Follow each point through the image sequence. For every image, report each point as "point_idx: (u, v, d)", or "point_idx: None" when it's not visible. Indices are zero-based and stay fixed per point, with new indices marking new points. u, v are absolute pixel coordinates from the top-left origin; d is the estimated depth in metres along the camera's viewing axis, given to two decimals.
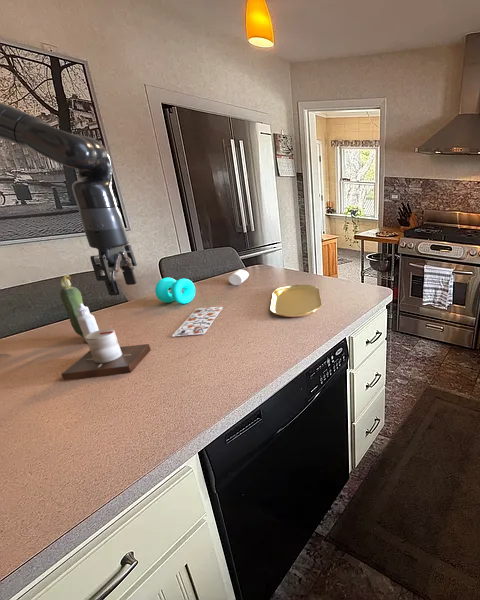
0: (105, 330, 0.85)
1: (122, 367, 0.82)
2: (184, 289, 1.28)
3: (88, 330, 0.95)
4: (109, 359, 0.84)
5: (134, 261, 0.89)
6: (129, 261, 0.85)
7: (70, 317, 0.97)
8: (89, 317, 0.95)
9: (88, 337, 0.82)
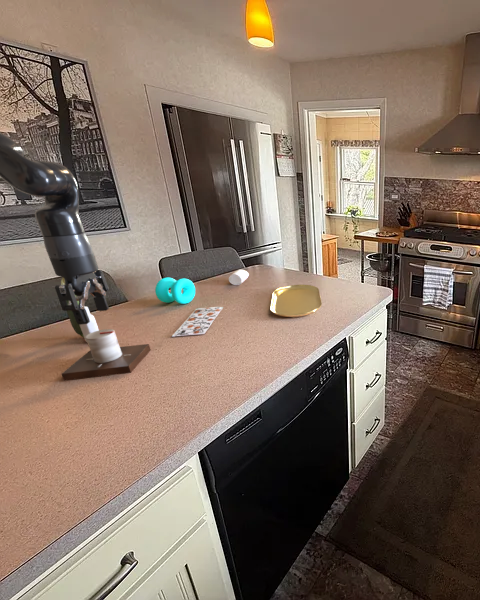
0: (105, 330, 0.85)
1: (122, 367, 0.82)
2: (184, 289, 1.28)
3: (88, 330, 0.95)
4: (109, 359, 0.84)
5: (106, 286, 0.86)
6: (100, 287, 0.82)
7: (70, 317, 0.97)
8: (89, 317, 0.95)
9: (88, 337, 0.82)
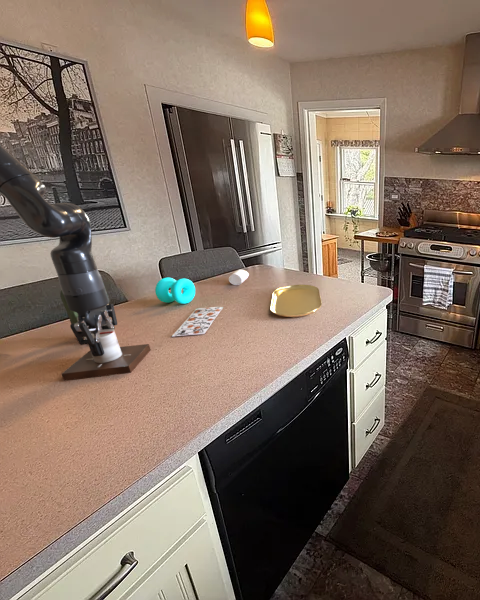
0: (105, 330, 0.85)
1: (122, 367, 0.82)
2: (184, 289, 1.28)
3: None
4: (109, 359, 0.84)
5: (115, 320, 0.88)
6: (109, 320, 0.85)
7: (70, 317, 0.97)
8: None
9: None
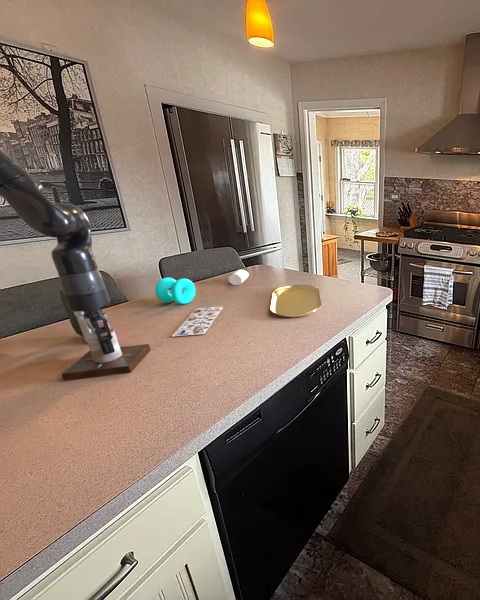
0: None
1: (122, 367, 0.82)
2: (184, 289, 1.28)
3: (88, 330, 0.95)
4: (117, 356, 0.85)
5: None
6: None
7: (70, 317, 0.97)
8: None
9: (93, 338, 0.81)
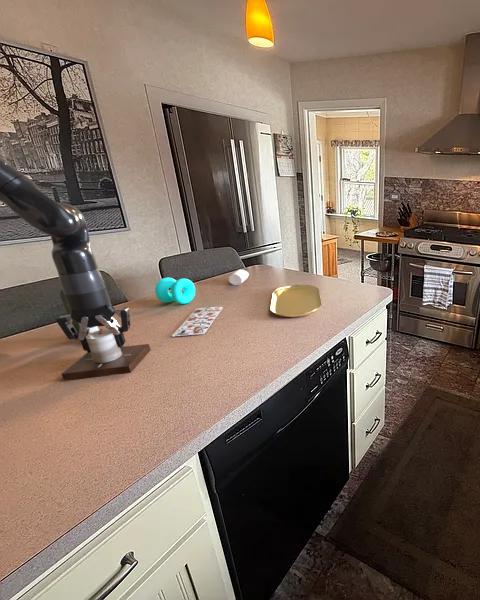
0: (90, 335, 0.83)
1: (122, 367, 0.82)
2: (184, 289, 1.28)
3: None
4: None
5: None
6: None
7: None
8: None
9: (107, 334, 0.83)
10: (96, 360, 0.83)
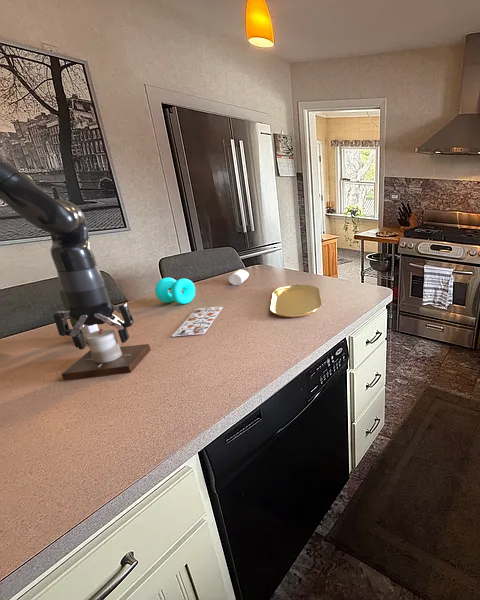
0: (90, 335, 0.83)
1: (122, 367, 0.82)
2: (184, 289, 1.28)
3: (88, 330, 0.95)
4: None
5: None
6: None
7: (70, 317, 0.97)
8: None
9: (107, 334, 0.83)
10: (96, 360, 0.83)
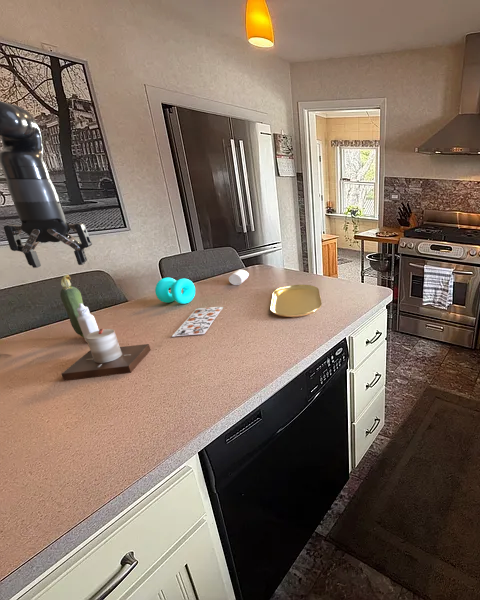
0: (90, 335, 0.83)
1: (122, 367, 0.82)
2: (184, 289, 1.28)
3: (88, 330, 0.95)
4: None
5: None
6: None
7: (70, 317, 0.97)
8: (89, 317, 0.95)
9: (107, 334, 0.83)
10: (96, 360, 0.83)
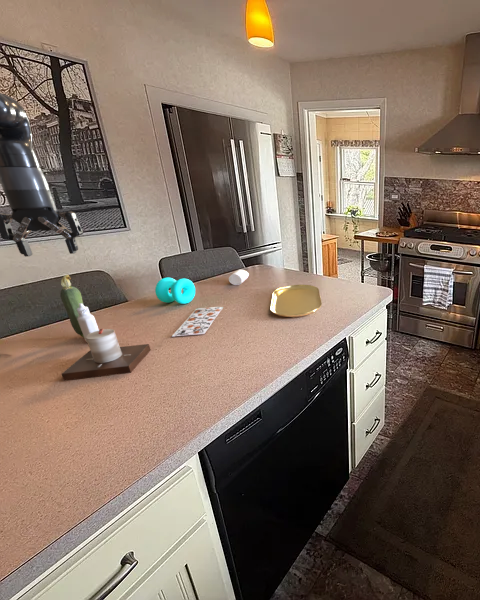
0: (90, 335, 0.83)
1: (122, 367, 0.82)
2: (184, 289, 1.28)
3: (88, 330, 0.95)
4: None
5: None
6: None
7: (70, 317, 0.97)
8: (89, 317, 0.95)
9: (107, 334, 0.83)
10: (96, 360, 0.83)
